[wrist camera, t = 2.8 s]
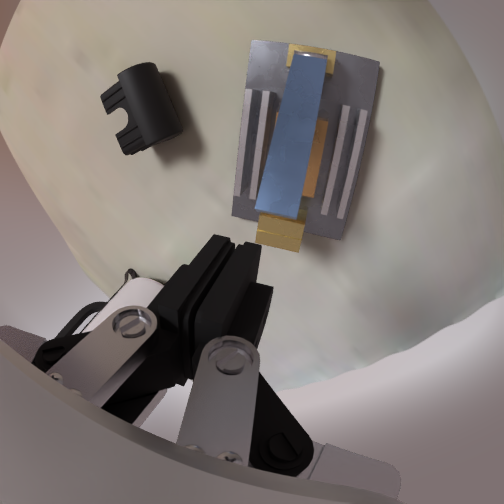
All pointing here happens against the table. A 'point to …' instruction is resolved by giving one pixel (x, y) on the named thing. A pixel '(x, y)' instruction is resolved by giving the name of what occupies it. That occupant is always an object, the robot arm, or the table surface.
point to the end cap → (142, 108)
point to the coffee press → (115, 303)
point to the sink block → (323, 147)
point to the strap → (293, 137)
